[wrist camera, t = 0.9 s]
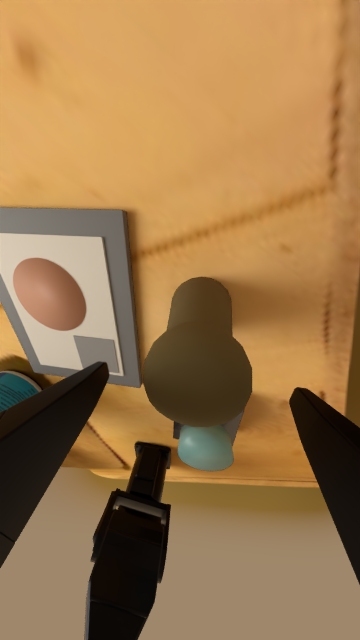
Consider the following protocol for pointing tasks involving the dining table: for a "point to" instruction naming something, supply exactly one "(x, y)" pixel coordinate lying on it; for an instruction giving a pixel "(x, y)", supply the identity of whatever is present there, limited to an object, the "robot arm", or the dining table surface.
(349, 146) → the dining table surface
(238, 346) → the brown tapered upright piece
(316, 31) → the dining table surface
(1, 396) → the beverage bottle
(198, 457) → the button
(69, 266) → the drawing board
